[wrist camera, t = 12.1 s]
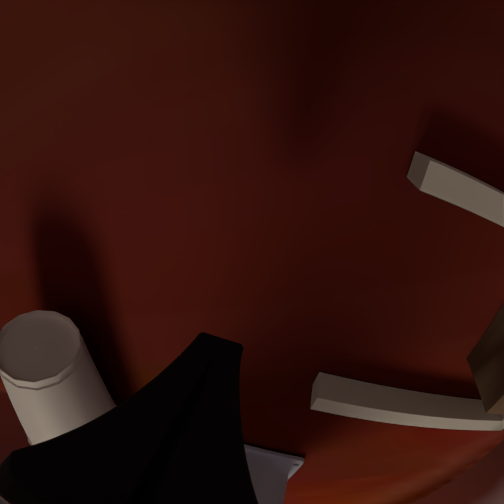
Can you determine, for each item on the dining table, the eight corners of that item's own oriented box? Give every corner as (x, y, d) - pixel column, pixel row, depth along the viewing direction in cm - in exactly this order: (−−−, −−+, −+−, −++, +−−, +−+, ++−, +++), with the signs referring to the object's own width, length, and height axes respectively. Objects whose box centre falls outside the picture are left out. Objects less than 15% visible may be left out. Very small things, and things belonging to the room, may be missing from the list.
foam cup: (121, 308, 20) (137, 410, 27) (16, 286, 20) (54, 388, 26) (74, 426, 12) (118, 496, 18) (-48, 374, 11) (24, 464, 17)
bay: (495, 411, 17) (501, 430, 15) (312, 383, 18) (310, 409, 17) (602, 257, 10) (618, 272, 8) (415, 151, 12) (430, 160, 10)
